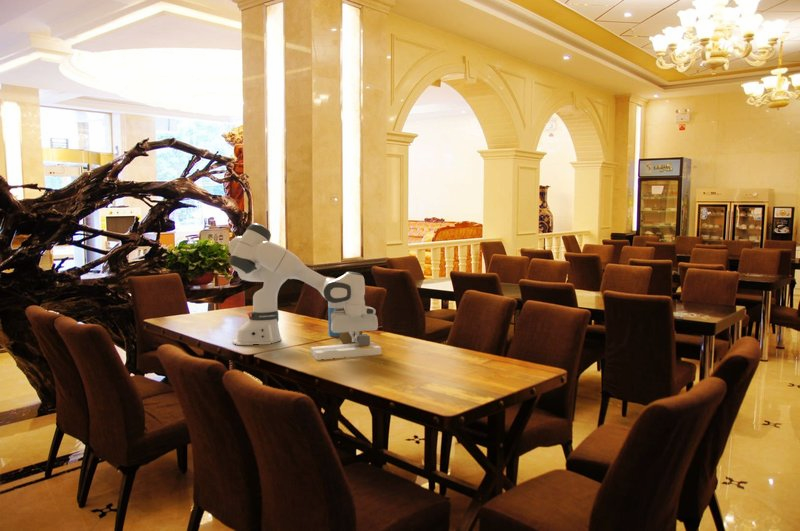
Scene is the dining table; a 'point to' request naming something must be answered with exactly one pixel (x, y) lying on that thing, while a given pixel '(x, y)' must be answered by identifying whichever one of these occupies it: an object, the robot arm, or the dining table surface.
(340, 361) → the dining table surface
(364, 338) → the switch knob
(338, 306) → the water bottle
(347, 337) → the plant pot
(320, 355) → the switch plate
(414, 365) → the dining table surface
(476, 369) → the dining table surface
